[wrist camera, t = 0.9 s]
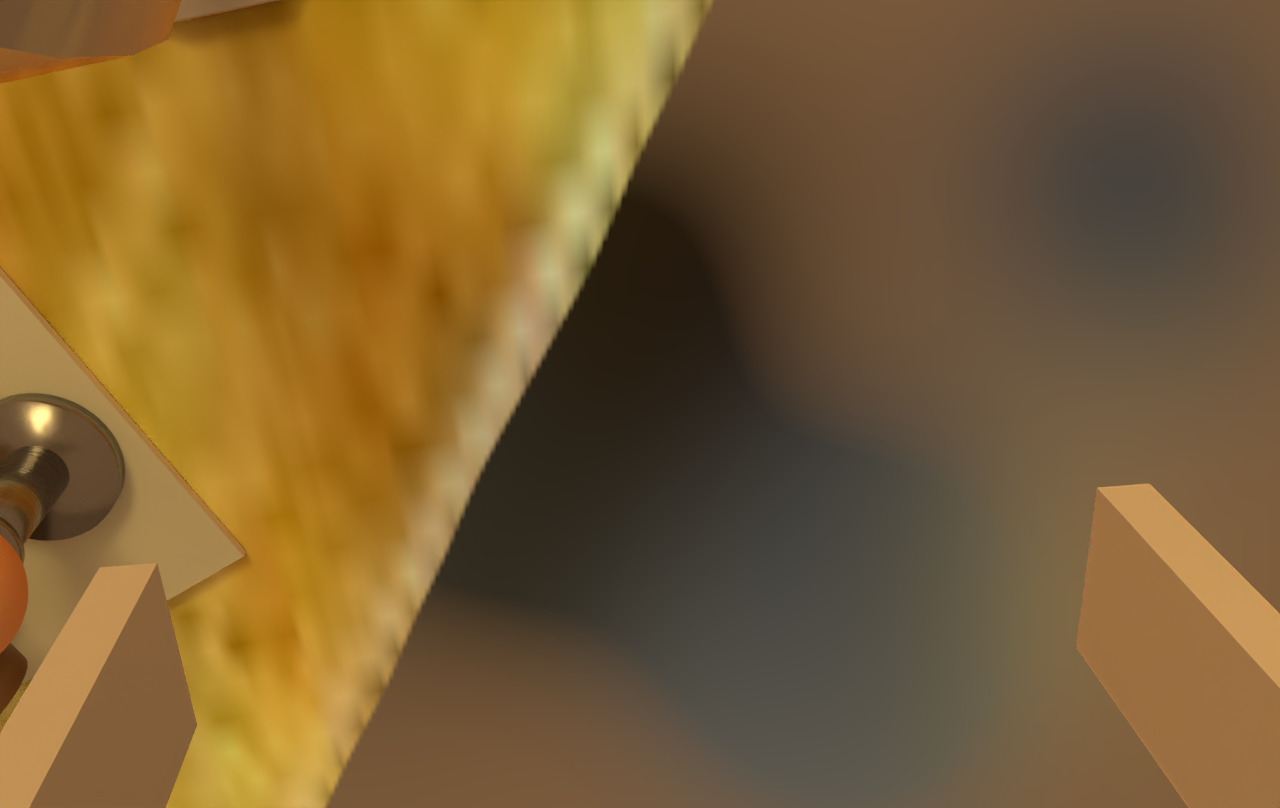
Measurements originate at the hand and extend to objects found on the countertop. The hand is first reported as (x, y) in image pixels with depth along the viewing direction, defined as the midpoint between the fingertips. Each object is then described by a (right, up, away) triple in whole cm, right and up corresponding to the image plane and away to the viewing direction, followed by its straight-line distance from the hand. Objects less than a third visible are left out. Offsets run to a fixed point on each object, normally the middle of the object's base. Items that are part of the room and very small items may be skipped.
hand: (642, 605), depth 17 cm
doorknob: (-22, +1, +27) cm, 35 cm away
